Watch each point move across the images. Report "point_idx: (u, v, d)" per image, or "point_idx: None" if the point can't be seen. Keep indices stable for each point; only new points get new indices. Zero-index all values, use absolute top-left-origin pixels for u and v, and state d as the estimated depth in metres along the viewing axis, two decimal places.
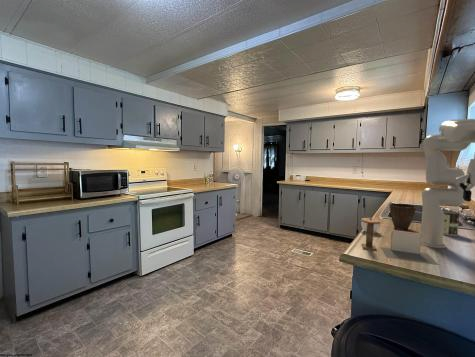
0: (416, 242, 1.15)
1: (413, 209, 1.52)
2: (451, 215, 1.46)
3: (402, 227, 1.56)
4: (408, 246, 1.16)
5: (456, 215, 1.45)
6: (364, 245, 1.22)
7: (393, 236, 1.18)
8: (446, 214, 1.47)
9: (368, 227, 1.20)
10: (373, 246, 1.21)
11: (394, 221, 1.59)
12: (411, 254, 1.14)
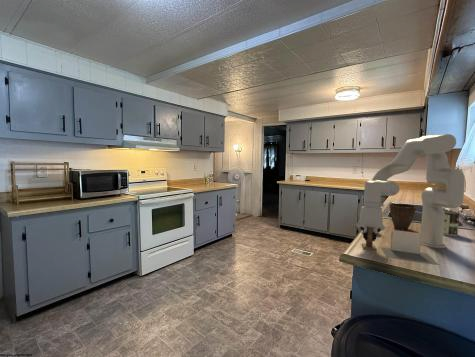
0: (416, 242, 1.15)
1: (413, 209, 1.52)
2: (451, 215, 1.46)
3: (402, 227, 1.56)
4: (408, 246, 1.16)
5: (456, 215, 1.45)
6: (364, 245, 1.22)
7: (393, 236, 1.18)
8: (446, 214, 1.47)
9: (368, 227, 1.20)
10: (373, 246, 1.21)
11: (394, 221, 1.59)
12: (411, 254, 1.14)
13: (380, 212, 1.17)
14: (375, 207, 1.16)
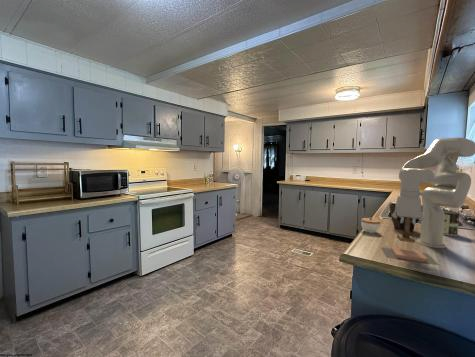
0: None
1: None
2: (451, 215, 1.46)
3: None
4: None
5: (456, 215, 1.45)
6: (400, 236, 1.17)
7: None
8: (446, 214, 1.47)
9: (405, 217, 1.15)
10: (410, 237, 1.16)
11: (394, 221, 1.59)
12: None
13: (419, 201, 1.12)
14: (414, 196, 1.11)
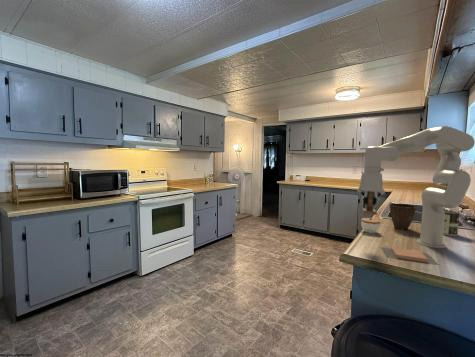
0: None
1: (413, 209, 1.52)
2: (451, 215, 1.46)
3: (402, 227, 1.56)
4: None
5: (456, 215, 1.45)
6: (365, 209, 1.26)
7: None
8: (446, 214, 1.47)
9: None
10: (373, 210, 1.25)
11: (394, 221, 1.59)
12: None
13: (380, 176, 1.21)
14: (375, 171, 1.20)
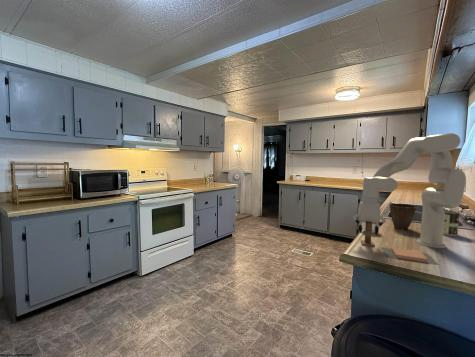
0: None
1: (413, 209, 1.52)
2: (451, 215, 1.46)
3: (402, 227, 1.56)
4: None
5: (456, 215, 1.45)
6: (363, 241, 1.28)
7: None
8: (446, 214, 1.47)
9: (367, 224, 1.26)
10: (371, 242, 1.27)
11: (394, 221, 1.59)
12: None
13: (378, 207, 1.22)
14: (373, 202, 1.22)
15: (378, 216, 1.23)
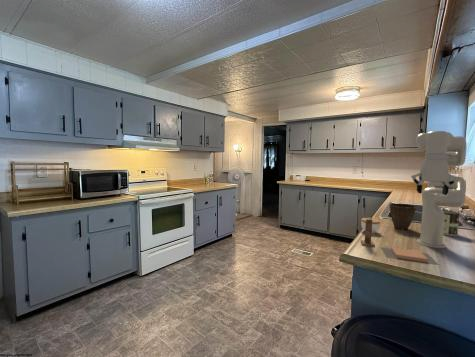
0: None
1: (413, 209, 1.52)
2: (451, 215, 1.46)
3: (402, 227, 1.56)
4: None
5: (456, 215, 1.45)
6: (363, 241, 1.28)
7: None
8: (446, 214, 1.47)
9: (367, 224, 1.26)
10: (371, 242, 1.27)
11: (394, 221, 1.59)
12: None
13: (446, 164, 1.08)
14: (441, 158, 1.07)
15: (446, 175, 1.08)
